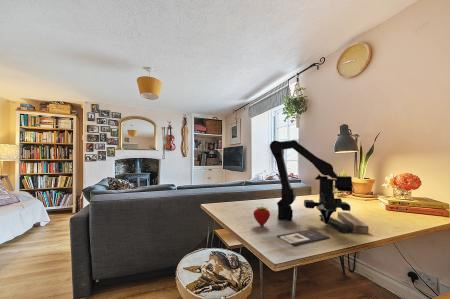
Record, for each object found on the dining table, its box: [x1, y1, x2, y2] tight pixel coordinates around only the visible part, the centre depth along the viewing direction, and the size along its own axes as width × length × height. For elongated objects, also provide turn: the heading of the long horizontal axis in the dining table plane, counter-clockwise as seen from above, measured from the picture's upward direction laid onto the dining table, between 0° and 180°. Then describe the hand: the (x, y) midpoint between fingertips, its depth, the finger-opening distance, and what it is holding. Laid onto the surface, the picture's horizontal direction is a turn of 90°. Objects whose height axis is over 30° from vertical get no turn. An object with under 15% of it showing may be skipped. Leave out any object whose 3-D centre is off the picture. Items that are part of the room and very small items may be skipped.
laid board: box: [337, 211, 369, 234], centre depth 95 cm, size 6×20×3 cm, turn 168°
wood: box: [319, 214, 354, 234], centre depth 95 cm, size 22×7×3 cm, turn 3°
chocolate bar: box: [276, 228, 331, 247], centre depth 80 cm, size 9×1×18 cm
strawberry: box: [253, 203, 271, 227], centre depth 92 cm, size 6×8×10 cm
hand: (325, 223), depth 95 cm, fingers closed
